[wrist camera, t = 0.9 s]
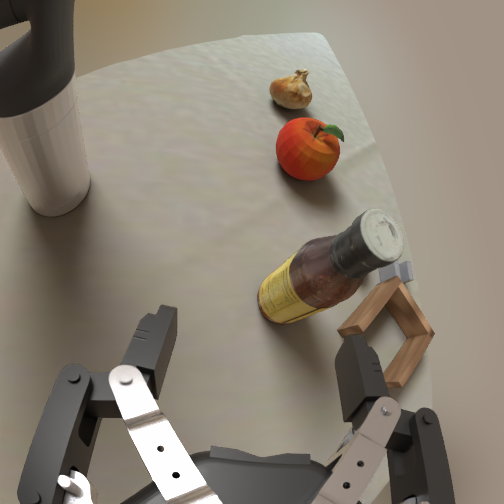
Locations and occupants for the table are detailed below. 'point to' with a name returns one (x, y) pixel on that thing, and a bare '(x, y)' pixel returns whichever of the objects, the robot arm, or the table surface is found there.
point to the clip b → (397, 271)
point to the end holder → (406, 317)
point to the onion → (292, 91)
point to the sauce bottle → (330, 268)
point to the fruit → (308, 148)
